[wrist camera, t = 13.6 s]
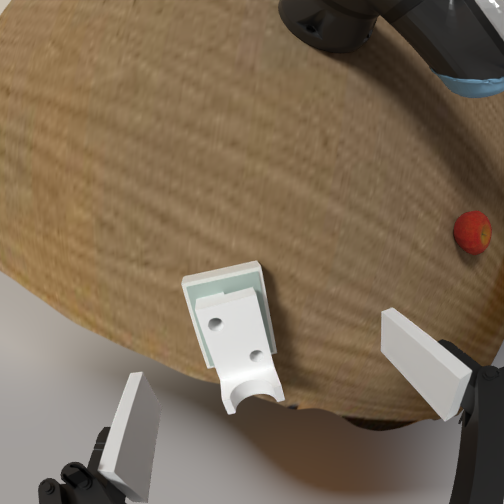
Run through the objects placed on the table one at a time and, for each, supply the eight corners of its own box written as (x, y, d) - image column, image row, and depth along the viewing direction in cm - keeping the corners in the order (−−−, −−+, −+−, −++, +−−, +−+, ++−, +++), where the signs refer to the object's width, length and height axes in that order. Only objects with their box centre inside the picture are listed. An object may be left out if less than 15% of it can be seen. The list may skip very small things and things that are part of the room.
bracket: (272, 366, 38) (284, 399, 30) (224, 378, 37) (228, 414, 30) (251, 284, 35) (262, 308, 27) (196, 298, 34) (193, 326, 27)
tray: (256, 260, 38) (261, 266, 34) (272, 342, 41) (277, 354, 37) (183, 276, 37) (181, 284, 33) (207, 357, 40) (207, 369, 36)
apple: (458, 256, 43) (486, 266, 36) (441, 233, 42) (471, 241, 34) (473, 224, 43) (501, 230, 35) (457, 200, 41) (487, 203, 33)
